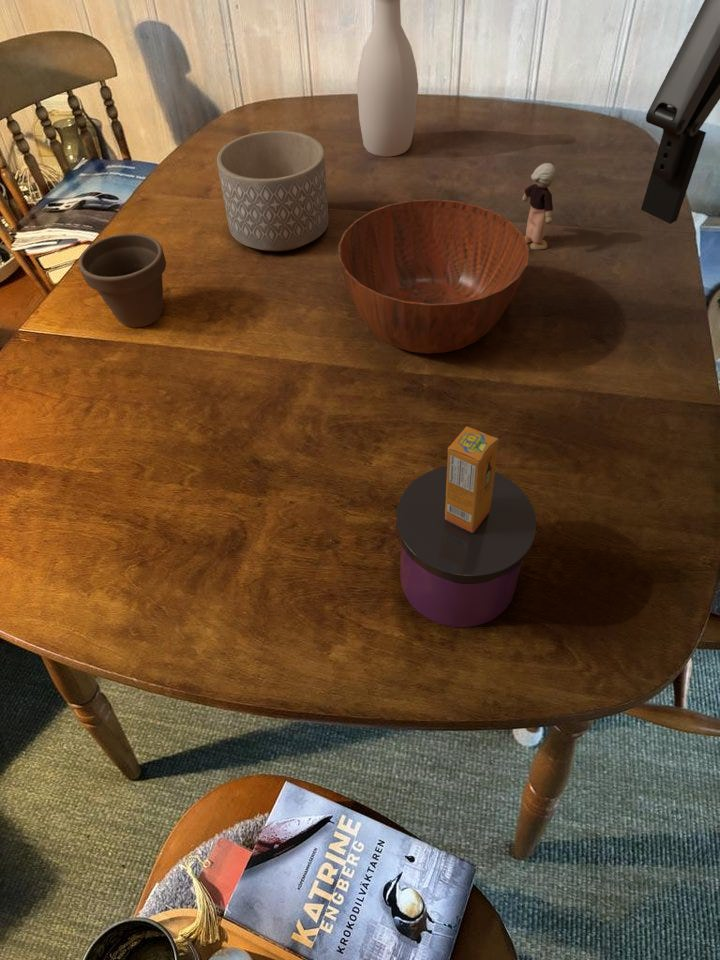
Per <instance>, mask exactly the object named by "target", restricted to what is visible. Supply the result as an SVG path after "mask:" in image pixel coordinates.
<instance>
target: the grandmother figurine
mask: <svg viewBox="0 0 720 960" xmlns="http://www.w3.org/2000/svg"><path fill="white" fill-rule="evenodd" d="M555 173H556V168H555V166H554V165H553V164H552V163H550V162H546V163H545V162H544V163H542V164H540V165H539V166H537V167H536V168H535V170H533V173H532V174H531V175H530V179H531V180H532V181H535V183H533V184H531V185H529V186H528V187H526V188H525V189H524V193H523V196H522V201H523V202H525V203H526V202H528V201H529V205H530V209H529V212H528V218H527V223H526V229H525V235H524V237H525V240H526V242H527V244H530V245H529V247H530V249H531V250H535V251H537V250H546V249H547V248H548V242H547V241H546V240H544V237H545V235H546V224H551V223H552V222H553V210H554V205H553V193H551V191H550V190H549V187H550V186H551V185H552V184H553V182H554V176H555Z"/></svg>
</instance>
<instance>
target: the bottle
mask: <svg viewBox="0 0 720 960" xmlns="http://www.w3.org/2000/svg"><path fill="white" fill-rule="evenodd" d="M401 14H402V13H401V0H374V15H373V18H374V19H373V27H372V28H371V31H370V33H369V35H368V38H367V40H366V42H365V43H364V45H363V48H362V52H361V55H360V59H359V63H358V70H357V79H356V93H357V104H358V105H357V107H358V120H359V125H360V126H359V127H360V131H361V138H362V144H363V148H365V150H366V151H367V152H368V153H370V154H371V155H374V156H377V157H384V158H385V157H387V158H388V157H396V156H400V155H402V154H404V153H406V152H407V151H408V150H409V149H410V147H411V146H412V143H413V136H414V130H415V126H416V125H415V124H416V119H417V107H418V96H419V95H418V93H419V92H418V91H419V79H418V69H417V64H416V61H415V60H416V59H415V57H414V52H413V48H412V45H411V43H410V41H409V39H408V37H407V34H406V32H405V31H404V28H403V27H402V17H401Z"/></svg>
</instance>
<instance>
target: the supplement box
mask: <svg viewBox="0 0 720 960" xmlns="http://www.w3.org/2000/svg"><path fill="white" fill-rule="evenodd" d="M498 451H499V438H498V437H495V436H492V435H490V434H487V433H485V432H482V431H480V430H478V429H475V428H472V427H470V426H465V427H464V429H463V430H462V431H461V432H460V433H459V434H458V436H457V437H456V438H455V439H454V440H453V442H452V443H451V444H450V445H449V446H448V447H447V460H446V462H447V464H446V466H447V482H446V504H445V519H446V520H447V521H449V522H451V523H453V524H455V525H457V526H459V527H461V528H463V529H465V530H467V531H469V532H471V533H474V532H475V530H476V529H477V528H478V527H479V525H480V524H481V523H482V521H483V520H484V518H485V517H486V516H487V514H488V513H489V511H490V507H491V500H492V492H493V484H494V477H495V472H496V467H497V460H498Z"/></svg>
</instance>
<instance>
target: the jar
mask: <svg viewBox="0 0 720 960" xmlns="http://www.w3.org/2000/svg"><path fill="white" fill-rule="evenodd" d="M446 482H447V465H445V466H441V467H437V468H434V469H432V470H429V471H427V472H425V473H423V474H421V475H419V476H418V477H417V478H415V479H414V480H413V481H411V483H410V484H409V485H408V486H407V487H406V488H405V490H404V491H403V492H402V494H401V495H400V498H399V500H398V503H397V507H396V516H395V526H396V533H397V538H398V540H399V542H400V557H399V559H400V561H399V563H400V564H399V579H400V586H401V589H402V592H403V594H404V596H405V598H406V599H407V601H408V603H409V604H410V605H411V606H412V608H414V609H415V610H416V612H418V613H419V614H420V615H422V616H423V617H424V618H426V619H428V620H430V621H432V622H434V623H437V624H439V625H442V626H446V627H452V628H472V627H477V626H481V625H484V624H486V623H488V622H490V621H493V620H494V619H496V618H497V617H499V616H500V615H501V614H502V613H503V612H505V610H506V609H507V608H508V607H509V605H510V604H511V602H512V600H513V598H514V596H515V592H516V588H517V584H518V580H519V577H520V574H521V573H520V572H521V569H522V565H523V562H524V561H525V560H526V559H527V558H528V555H529V554H530V552H531V550H532V548H533V545H534V542H535V538H536V533H537V524H538V523H537V516H536V513H535V508H534V506H533V505H532V502H531V500H530V499H529V497H528V496H527V494H526V493H525V492H524V491H523V490H522V489H521V487H520V486H518V485H517V484H516V482H514V481H512V480H511V479H510V478H508V477H506V476H504V475H503V474H502V473H499V472H497V471H495V477H494V484H493V492H492V500H491V507H490V511H489V513H488V514H487V516H486V517H485V518H484V520H483V521H482V523H481V524H480V525H479V527H478V528H477V529H476V530H475V532H474V533H471V532H469V531H467V530H465V529H463V528H461V527H459V526H457V525H455V524H453V523H451V522H449V521H447V520H446V519H445V504H446Z"/></svg>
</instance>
